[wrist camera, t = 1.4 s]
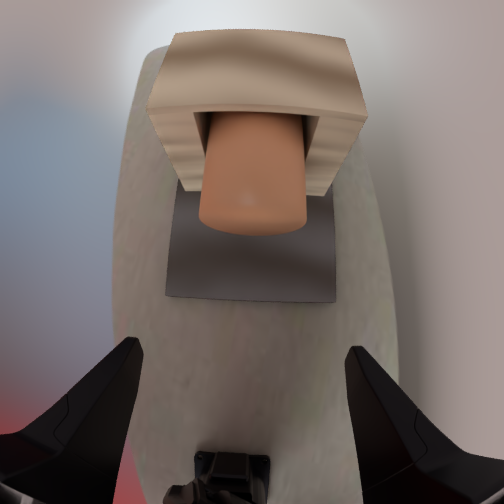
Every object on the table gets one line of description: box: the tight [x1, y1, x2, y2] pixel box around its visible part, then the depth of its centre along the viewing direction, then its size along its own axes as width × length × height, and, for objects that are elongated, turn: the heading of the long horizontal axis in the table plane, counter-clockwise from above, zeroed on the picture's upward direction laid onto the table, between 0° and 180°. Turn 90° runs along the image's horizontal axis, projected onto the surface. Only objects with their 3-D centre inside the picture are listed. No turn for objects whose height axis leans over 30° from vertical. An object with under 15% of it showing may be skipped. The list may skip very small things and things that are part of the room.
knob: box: [199, 111, 307, 236], centre depth 17 cm, size 7×6×6 cm
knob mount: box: [146, 29, 368, 303], centre depth 19 cm, size 18×14×12 cm
